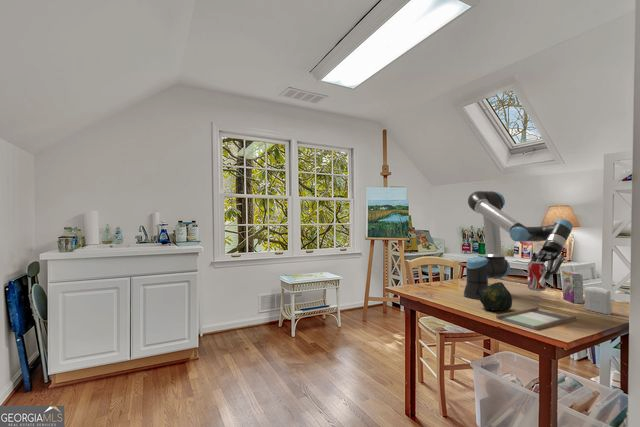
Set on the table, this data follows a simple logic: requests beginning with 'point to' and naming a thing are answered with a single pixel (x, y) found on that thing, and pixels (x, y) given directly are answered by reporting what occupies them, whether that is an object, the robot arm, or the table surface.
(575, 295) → the candy bar box
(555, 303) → the table surface
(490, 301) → the squash
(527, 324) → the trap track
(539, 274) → the soda can
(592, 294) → the photo printer
